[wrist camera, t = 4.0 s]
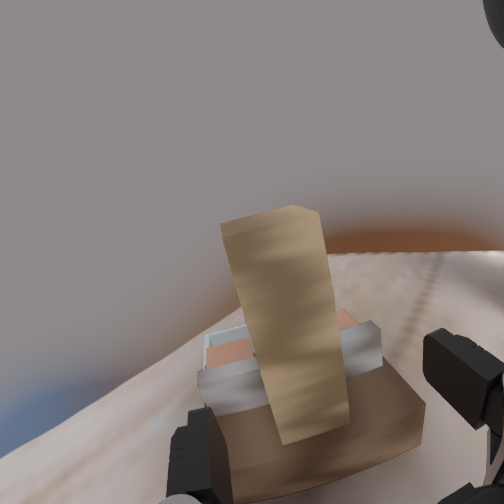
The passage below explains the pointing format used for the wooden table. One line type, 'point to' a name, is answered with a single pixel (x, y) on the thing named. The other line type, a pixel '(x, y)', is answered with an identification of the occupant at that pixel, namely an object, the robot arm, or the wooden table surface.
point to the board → (323, 439)
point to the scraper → (289, 328)
